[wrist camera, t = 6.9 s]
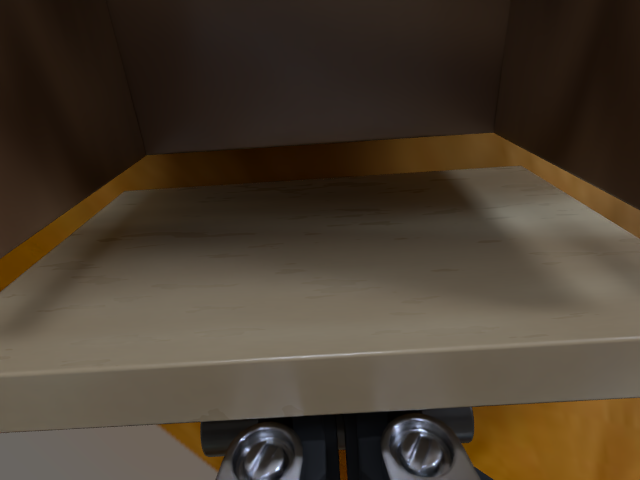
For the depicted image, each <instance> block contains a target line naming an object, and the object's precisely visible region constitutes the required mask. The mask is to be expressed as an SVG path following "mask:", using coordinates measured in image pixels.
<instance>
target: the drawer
mask: <svg viewBox="0 0 640 480" xmlns="http://www.w3.org/2000/svg"><path fill="white" fill-rule="evenodd" d="M479 133H495V134H497V135H499V136H501V137H503V138H504V139H506V140H508V141H510V142H512V143H514V144H516V145H518V146H520V147H521V148H523V149H525V150H527V151H529V152H531V153H533V154H535V155H537V156H539V157H540V158H542V159H544V160H546V161H548V162H550V163H552V164H554V165H556V166H557V167H559V168H561V169H563V170H565V171H567V172H569V173H571V174H573V175H574V176H576V177H578V178H580V179H582V180H584V181H586V182H588V183H590V184H592V185H593V186H595V187H597V188H599V189H601V190H603V191H605V192H607V193H609V194H610V195H612V196H614V197H616V198H618V199H620V200H622V201H624V202H626V203H627V204H629V205H631V206H633V207H635V208H637V209H639V210H640V0H0V258H2V257H3V256H4V255H6V254H7V253H9V252H10V251H12V250H13V249H14V248H16V247H17V246H19V245H20V244H21V243H23V242H24V241H26V240H27V239H29V238H30V237H31V236H33V235H34V234H36V233H37V232H38V231H40V230H41V229H43V228H44V227H46V226H47V225H48V224H50V223H51V222H53V221H54V220H56V219H57V218H58V217H60V216H61V215H63V214H64V213H65V212H67V211H68V210H70V209H71V208H73V207H74V206H75V205H77V204H78V203H80V202H81V201H82V200H84V199H85V198H87V197H88V196H90V195H91V194H92V193H94V192H95V191H97V190H98V189H99V188H101V187H102V186H104V185H105V184H107V183H108V182H109V181H111V180H112V179H114V178H115V177H116V176H118V175H119V174H121V173H122V172H124V171H125V170H126V169H128V168H129V167H131V166H132V165H134V164H135V163H136V162H138V161H139V160H141V159H142V158H143V157H145V156H146V155H159V154H174V153H190V152H205V151H220V150H235V149H251V148H266V147H281V146H296V145H311V144H327V143H342V142H357V141H372V140H388V139H403V138H418V137H433V136H448V135H464V134H479ZM622 398H640V239H639V238H637V237H636V236H634V235H633V234H631V233H629V232H628V231H626V230H625V229H623V228H621V227H620V226H618V225H616V224H615V223H613V222H612V221H610V220H608V219H607V218H605V217H603V216H602V215H600V214H599V213H597V212H595V211H594V210H592V209H590V208H589V207H587V206H586V205H584V204H582V203H581V202H579V201H577V200H576V199H574V198H573V197H571V196H569V195H568V194H566V193H565V192H563V191H561V190H560V189H558V188H556V187H555V186H553V185H552V184H550V183H548V182H547V181H545V180H543V179H542V178H540V177H539V176H537V175H535V174H534V173H532V172H530V171H529V170H527V169H526V168H524V167H522V166H508V167H493V168H477V169H462V170H446V171H431V172H415V173H400V174H384V175H369V176H353V177H338V178H322V179H307V180H291V181H275V182H260V183H244V184H229V185H213V186H198V187H182V188H167V189H151V190H136V191H124V192H123V193H122V194H120V195H119V196H118V197H117V198H115V199H114V200H113V201H112V202H111V203H109V204H108V205H107V206H106V207H104V208H103V209H102V210H101V211H99V212H98V213H97V214H96V215H95V216H93V217H92V218H91V219H90V220H88V221H87V222H86V223H85V224H83V225H82V226H81V227H80V228H79V229H77V230H76V231H75V232H74V233H72V234H71V235H70V236H69V237H67V238H66V239H65V240H64V241H63V242H61V243H60V244H59V245H58V246H56V247H55V248H54V249H53V250H51V251H50V252H49V253H48V254H47V255H45V256H44V257H43V258H42V259H40V260H39V261H38V262H37V263H35V264H34V265H33V266H32V267H31V268H29V269H28V270H27V271H26V272H24V273H23V274H22V275H21V276H19V277H18V278H17V279H16V280H15V281H13V282H12V283H11V284H10V285H8V286H7V287H6V288H5V289H3V290H2V291H1V292H0V433H9V432H26V431H45V430H63V429H80V428H99V427H117V426H134V425H153V424H171V423H189V422H201V444H202V449H203V452H204V454H205V455H206V456H208V457H215V456H225V453H226V451H227V449H228V447H229V445H230V444H231V442H232V441H233V440H234V439H235V438H236V436H237V435H238V434H239V433H240V432H242V431H243V430H245V429H247V428H248V427H250V426H252V425H255V424H258V419H261V418H280V417H298V416H316V415H334V414H336V418H337V435H338V450H344V449H345V436H344V423H343V414H352V413H370V412H388V411H406V410H422V413H423V414H425V415H430V416H432V417H434V418H436V419H439V420H441V421H442V422H444V423H445V424H446V425H447V426H449V427H450V428H451V429H452V430H453V432H454V433H455V434H456V436H457V437H458V438H459V440H460V442H461V443H469V442H471V441H472V439H473V436H474V417H473V410H472V407H478V406H496V405H514V404H532V403H550V402H568V401H586V400H604V399H622Z"/></svg>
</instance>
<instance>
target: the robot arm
mask: <svg viewBox="0 0 640 480" xmlns="http://www.w3.org/2000/svg"><path fill="white" fill-rule="evenodd" d="M343 423H344V436H345V449H346V462H347V475H348V480H493V479H492V478H490V477H489V476H487V475H486V474H484V473H483V472H481V471H480V470H478V469H477V468H475V467H474V466H473V464H472V463H471V461H470V459H469V457H468V455H467V453H466V451H465V449H464V448H463V446H462V444H461V442H460V440H459V438H458V437H457V436H456V434H455V433H454V432H453V430H452V429H451V428H450V427H449V426H447V425H446V424H445V423H444V422H442V421H441V420H439V419H436V418H434V417H432V416H430V415H425V414H423V413H422V410H406V411H388V412H370V413H352V414H343ZM216 480H340V469H339V452H338V435H337V418H336V414H334V415H316V416H298V417H280V418H261V419H258V424H255V425H252V426H250V427H248V428H247V429H245V430H243V431H242V432H240V433H239V434H238V435H237V436H236V438H235V439H234V440H233V441H232V442H231V444H230V445H229V447H228V449H227V451H226V453H225V456H224V458H223V461H222V464H221V467H220V469H219V472H218V475H217V477H216Z"/></svg>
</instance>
